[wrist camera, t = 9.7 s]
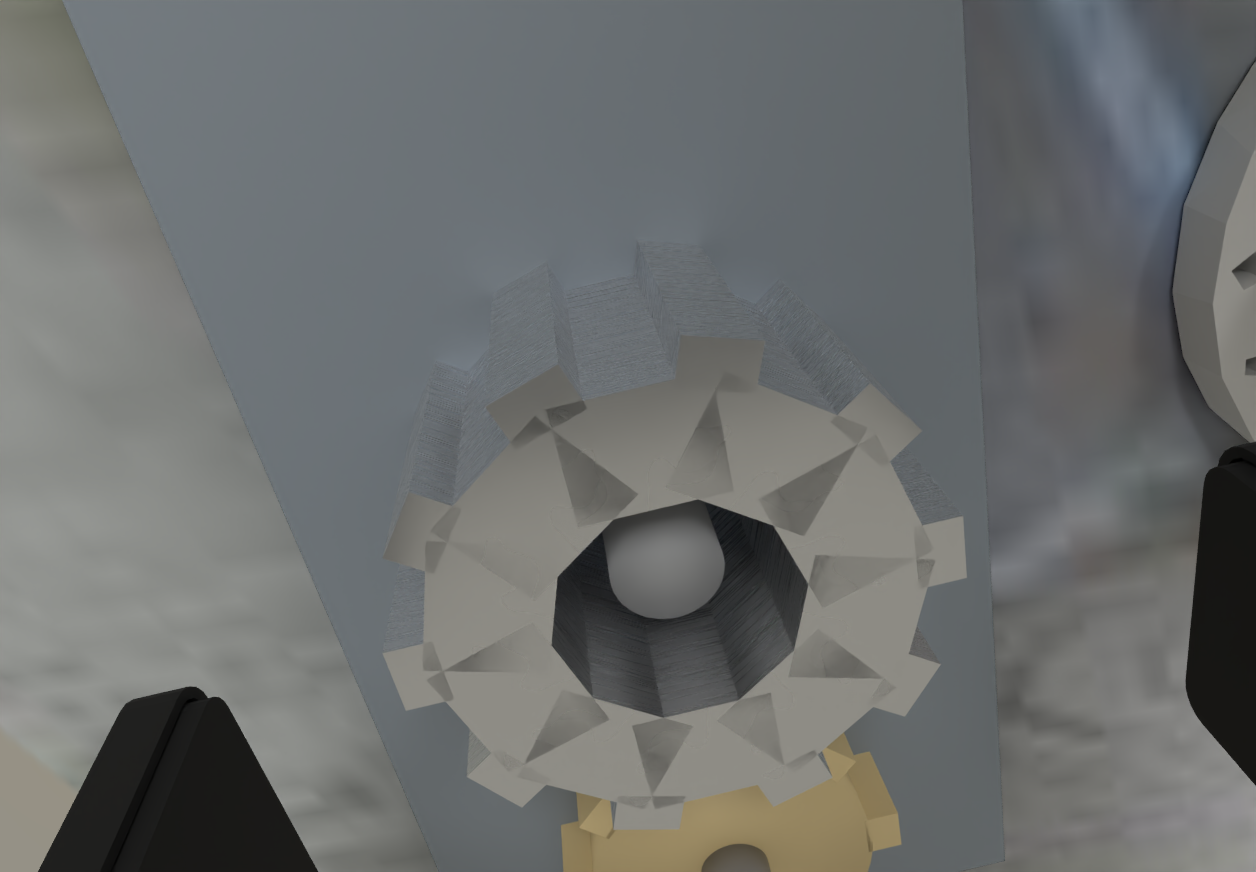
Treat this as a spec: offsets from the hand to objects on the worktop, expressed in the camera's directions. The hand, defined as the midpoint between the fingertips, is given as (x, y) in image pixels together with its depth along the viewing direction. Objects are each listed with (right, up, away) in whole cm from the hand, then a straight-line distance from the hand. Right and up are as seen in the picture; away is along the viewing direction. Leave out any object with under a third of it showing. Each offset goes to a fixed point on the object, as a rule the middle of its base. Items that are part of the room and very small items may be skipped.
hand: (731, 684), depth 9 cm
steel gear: (-1, +2, +6) cm, 6 cm away
